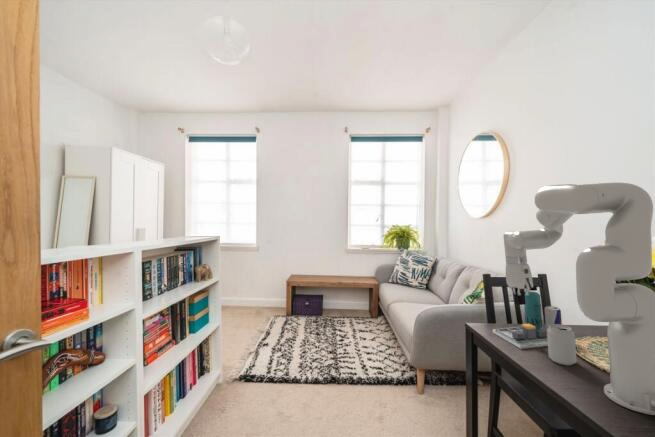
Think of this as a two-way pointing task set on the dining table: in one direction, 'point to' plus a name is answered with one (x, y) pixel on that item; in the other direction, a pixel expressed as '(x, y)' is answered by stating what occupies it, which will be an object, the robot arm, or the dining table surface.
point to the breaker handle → (529, 331)
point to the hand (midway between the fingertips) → (520, 304)
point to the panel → (522, 337)
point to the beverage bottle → (533, 308)
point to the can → (561, 344)
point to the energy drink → (552, 316)
